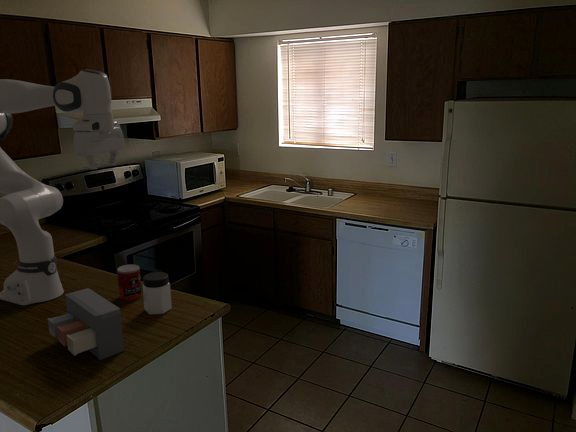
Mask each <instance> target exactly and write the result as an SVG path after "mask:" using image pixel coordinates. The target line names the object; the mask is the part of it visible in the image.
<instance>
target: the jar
mask: <svg viewBox="0 0 576 432" xmlns="http://www.w3.org/2000/svg"><path fill="white" fill-rule="evenodd" d="M142 281H143V283H142V293H143V294H142V296H143V306H144V311H146V312H147V314H148V315H162V314H165V313H167V312H168V311H170V310H172V307H173V306H172V294H171V283H170V282H169V281H170V280H169V274H168V273H166V272H164V271H154V272H148V273H146V274H145V275H143V276H142Z"/></svg>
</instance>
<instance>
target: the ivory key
mask: <svg viewBox="0 0 576 432" xmlns="http://www.w3.org/2000/svg"><path fill="white" fill-rule="evenodd" d="M66 336H67V350H68V351H69V352H70V353H71V354H72V355H73V356H77V354H80V353H84V352H86V351H89V349H91V348H94V347H97V341H96V332H94V331H93V330H92V329H91V328H89V329H86V330H83V331H80V332H77V333H74V334H71V335H66Z"/></svg>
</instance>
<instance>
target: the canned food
mask: <svg viewBox="0 0 576 432" xmlns="http://www.w3.org/2000/svg"><path fill="white" fill-rule="evenodd" d="M116 270H117V271H116V272H117V273H116V274H117V284H118V294H119V298H120V300H122V301H125V302H131V301H136V300H138V299H141V297H142V295H143V294H142V293H143V290H142V280H141V279H142V278H141V269H140V266H139V265H138V264H133V263H132V264H124V265H121V266H119V267H118V268H117V269H116Z"/></svg>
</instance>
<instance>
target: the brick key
mask: <svg viewBox="0 0 576 432" xmlns="http://www.w3.org/2000/svg"><path fill="white" fill-rule="evenodd" d="M83 330H86V329H85V324H84V323H83V322H82V321H80V320H79V321H76V322H73V323H69V324H66V325H63V326H60V327H59V326H57V333H58V336H57V338H58V339H57V340H58V342H59V343H60V344H61V345H62V346H64V347H67V346H68V344H67V336H66V335H71V334H74V333H77V332H80V331H83Z"/></svg>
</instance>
